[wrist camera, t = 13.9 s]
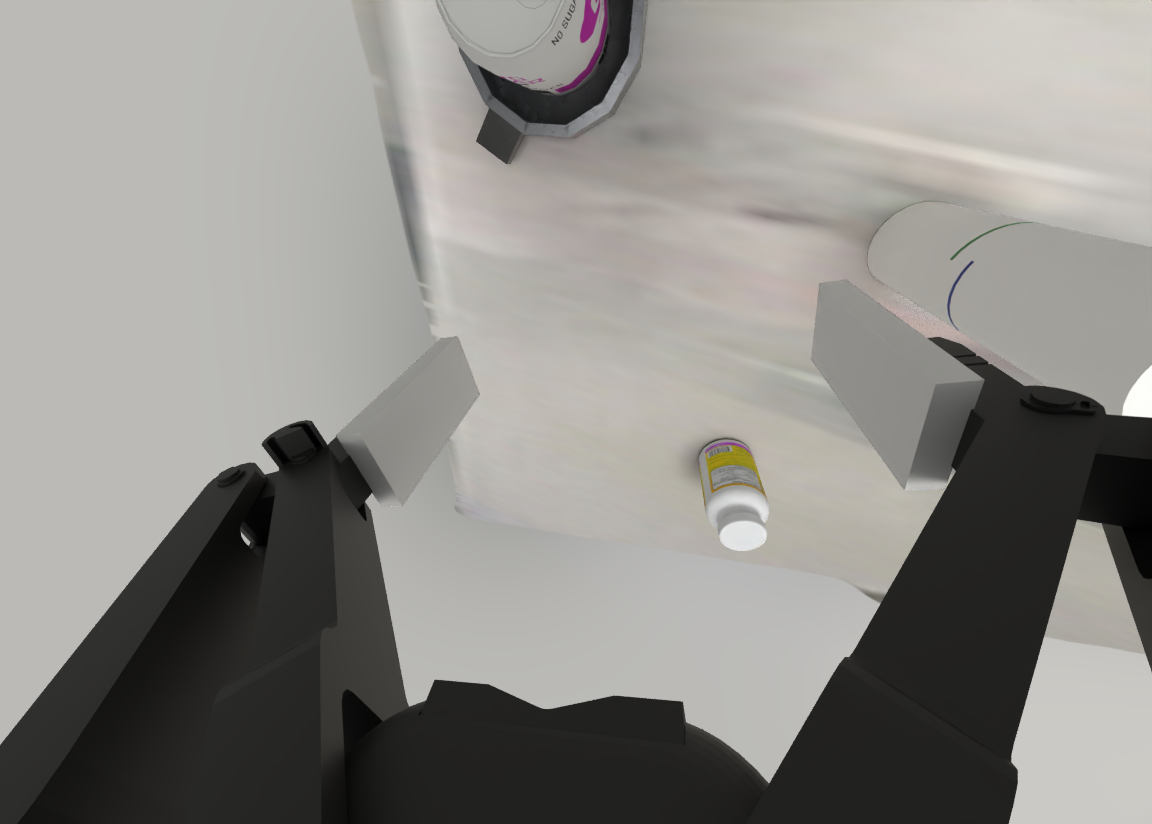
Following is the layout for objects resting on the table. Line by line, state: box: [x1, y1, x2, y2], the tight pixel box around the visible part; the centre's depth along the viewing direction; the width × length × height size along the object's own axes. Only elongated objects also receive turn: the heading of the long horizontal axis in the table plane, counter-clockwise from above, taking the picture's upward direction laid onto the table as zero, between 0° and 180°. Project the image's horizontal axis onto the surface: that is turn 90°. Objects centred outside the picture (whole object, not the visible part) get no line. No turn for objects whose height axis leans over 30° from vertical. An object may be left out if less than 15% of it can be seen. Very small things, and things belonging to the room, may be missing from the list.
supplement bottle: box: [699, 439, 769, 551], centre depth 47 cm, size 7×7×13 cm
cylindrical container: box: [867, 201, 1152, 418], centre depth 26 cm, size 7×7×25 cm
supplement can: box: [436, 0, 611, 97], centre depth 25 cm, size 8×8×15 cm
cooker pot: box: [459, 0, 647, 164], centre depth 31 cm, size 19×14×4 cm
